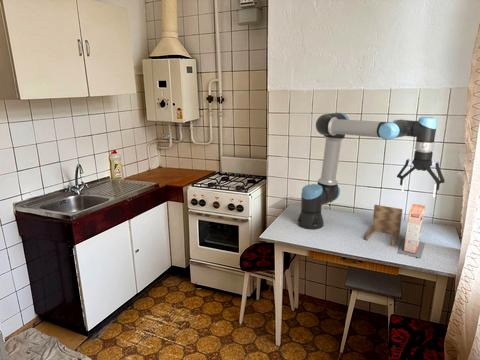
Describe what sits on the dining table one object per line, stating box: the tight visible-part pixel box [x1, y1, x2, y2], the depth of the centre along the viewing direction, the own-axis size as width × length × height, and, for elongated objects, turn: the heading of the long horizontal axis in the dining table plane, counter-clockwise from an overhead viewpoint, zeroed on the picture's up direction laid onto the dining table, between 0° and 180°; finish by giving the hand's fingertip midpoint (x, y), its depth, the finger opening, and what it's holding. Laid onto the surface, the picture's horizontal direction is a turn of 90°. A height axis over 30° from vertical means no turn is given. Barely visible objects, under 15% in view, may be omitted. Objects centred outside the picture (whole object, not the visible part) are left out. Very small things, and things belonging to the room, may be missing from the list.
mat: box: [397, 238, 426, 259], centre depth 174 cm, size 10×18×1 cm, turn 147°
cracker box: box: [404, 203, 426, 254], centre depth 171 cm, size 14×6×21 cm, turn 147°
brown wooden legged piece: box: [365, 204, 403, 247], centre depth 185 cm, size 14×16×15 cm
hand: (417, 194), depth 167 cm, fingers open, 13 cm apart
